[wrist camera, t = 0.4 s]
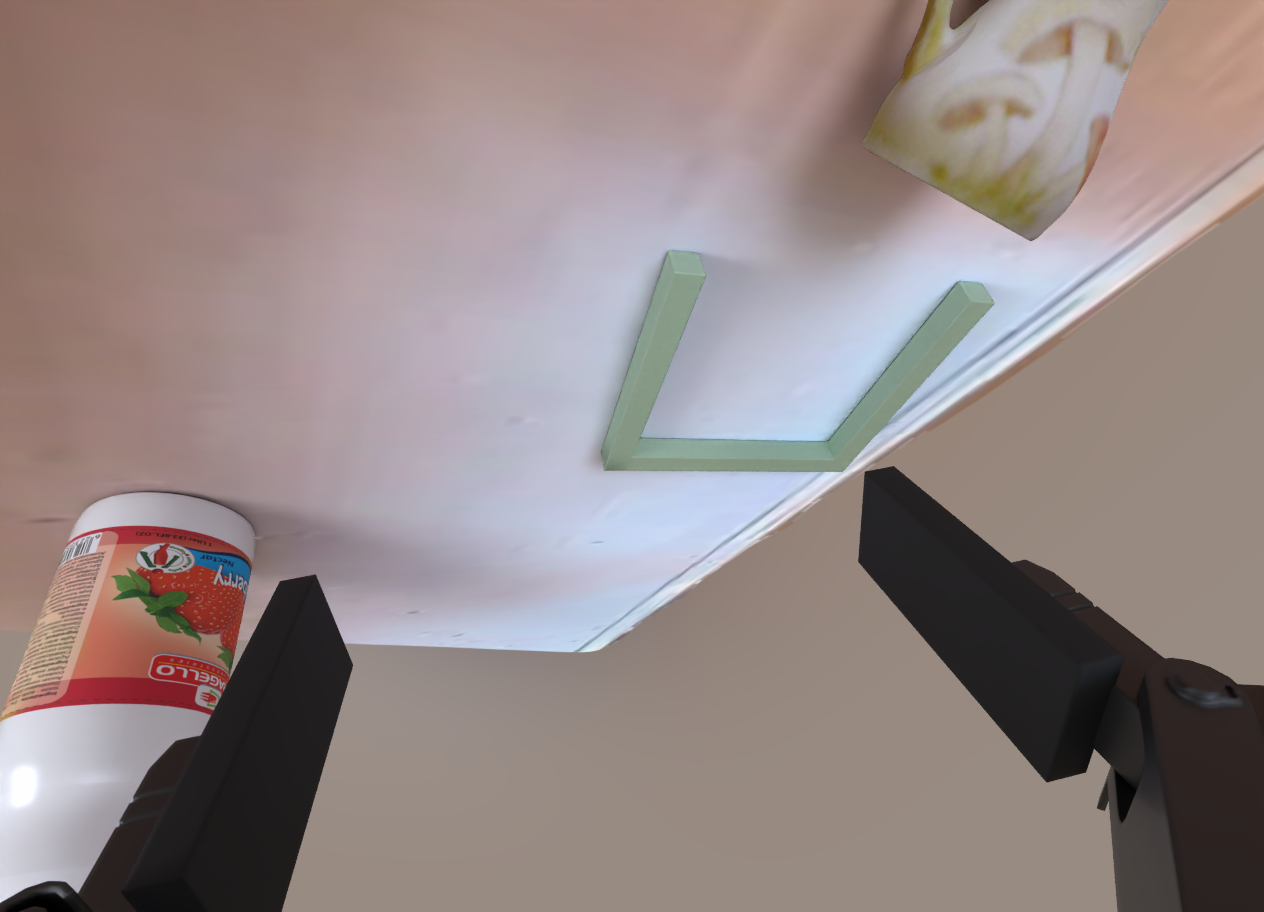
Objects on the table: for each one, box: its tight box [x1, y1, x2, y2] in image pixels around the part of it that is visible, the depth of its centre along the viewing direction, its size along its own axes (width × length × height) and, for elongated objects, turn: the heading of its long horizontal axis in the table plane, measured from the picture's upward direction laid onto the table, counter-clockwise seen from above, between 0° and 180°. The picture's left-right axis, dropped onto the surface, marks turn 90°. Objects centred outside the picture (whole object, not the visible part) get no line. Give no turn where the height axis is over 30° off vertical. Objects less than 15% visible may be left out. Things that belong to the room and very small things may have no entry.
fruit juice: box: [0, 492, 256, 903], centre depth 33 cm, size 9×9×28 cm
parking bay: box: [601, 250, 995, 472], centre depth 36 cm, size 16×17×2 cm
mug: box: [862, 0, 1169, 241], centre depth 21 cm, size 8×10×10 cm
